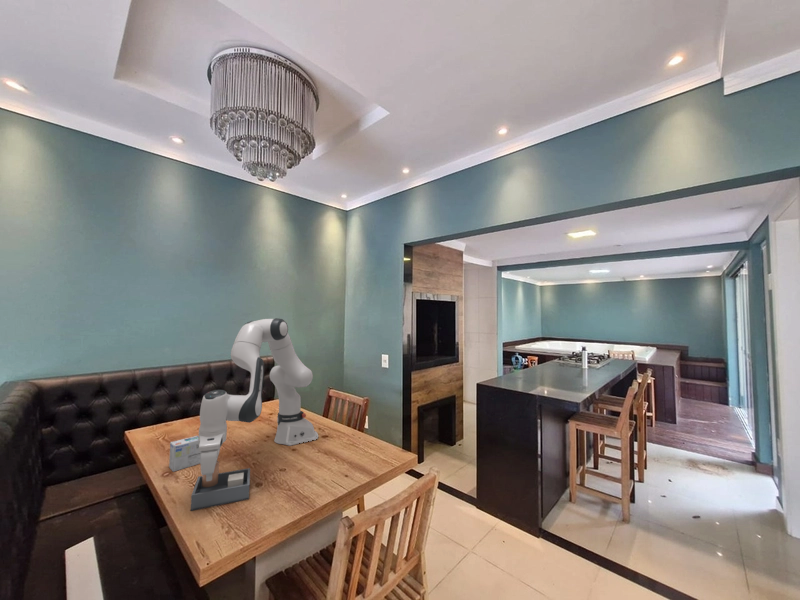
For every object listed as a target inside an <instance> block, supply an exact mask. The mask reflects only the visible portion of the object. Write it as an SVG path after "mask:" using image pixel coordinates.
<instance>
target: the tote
mask: <svg viewBox="0 0 800 600" xmlns="http://www.w3.org/2000/svg"><path fill="white" fill-rule="evenodd" d="M243 472H244V478H243V485H240V486H234V487H229V488H228V478H229V475H231V474H237V473H243ZM196 479H197V480H196V481H195V484H194V487H193V490H192V493H191V496H190V512H193V511H197V510H203V509H206V508H213V507H218V506H222V505H227V504H233V503H237V502H242V501H247V500H249V499H250V481H251V468H250V467H248V468H244V469H243V468H242V469H237V470H231V471H224V472H219V473H218V483H217V484H216V485H214V486H211V487H202V475H200V476H197V478H196Z"/></svg>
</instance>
